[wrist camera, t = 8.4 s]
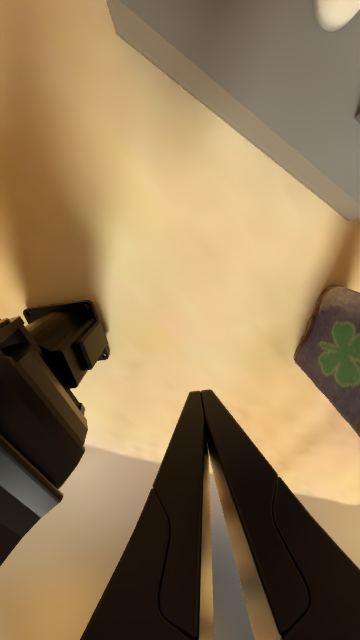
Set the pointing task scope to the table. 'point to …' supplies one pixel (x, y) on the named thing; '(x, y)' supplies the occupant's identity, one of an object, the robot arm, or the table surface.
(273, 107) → the switch panel
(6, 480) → the robot arm
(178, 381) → the table surface
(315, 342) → the flask
